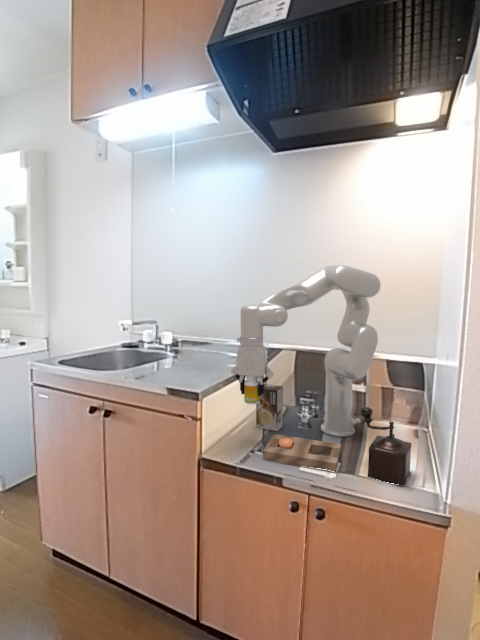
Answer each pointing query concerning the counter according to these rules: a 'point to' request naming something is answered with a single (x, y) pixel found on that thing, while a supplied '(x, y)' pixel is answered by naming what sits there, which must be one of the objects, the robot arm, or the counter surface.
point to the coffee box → (270, 408)
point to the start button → (285, 443)
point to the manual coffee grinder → (387, 454)
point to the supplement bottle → (251, 390)
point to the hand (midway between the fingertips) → (252, 393)
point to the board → (303, 453)
